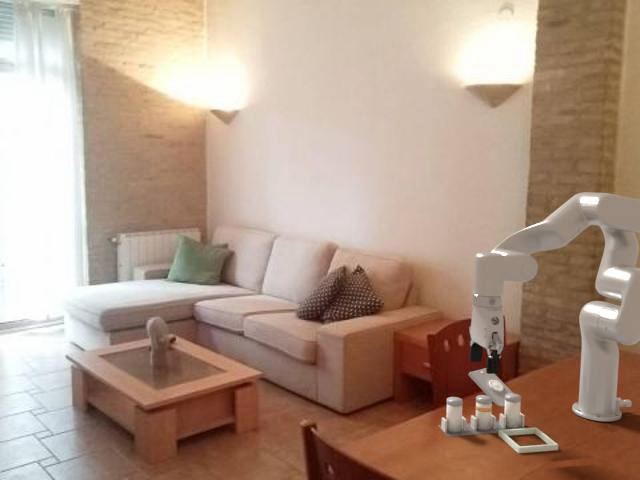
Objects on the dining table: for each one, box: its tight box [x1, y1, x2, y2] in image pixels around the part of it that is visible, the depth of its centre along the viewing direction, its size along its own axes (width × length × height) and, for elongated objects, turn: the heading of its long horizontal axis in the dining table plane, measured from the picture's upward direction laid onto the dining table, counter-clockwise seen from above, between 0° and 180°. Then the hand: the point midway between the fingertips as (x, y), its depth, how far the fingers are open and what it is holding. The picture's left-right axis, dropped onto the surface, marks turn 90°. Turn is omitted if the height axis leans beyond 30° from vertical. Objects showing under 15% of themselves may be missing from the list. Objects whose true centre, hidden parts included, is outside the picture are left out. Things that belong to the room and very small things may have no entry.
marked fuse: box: [475, 394, 493, 431], centre depth 163 cm, size 4×4×8 cm
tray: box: [498, 427, 559, 454], centre depth 155 cm, size 10×10×2 cm
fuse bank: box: [437, 392, 527, 438], centre depth 163 cm, size 22×7×9 cm, turn 101°
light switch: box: [468, 367, 514, 407], centre depth 186 cm, size 8×6×14 cm
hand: (483, 367), depth 161 cm, fingers open, 9 cm apart
